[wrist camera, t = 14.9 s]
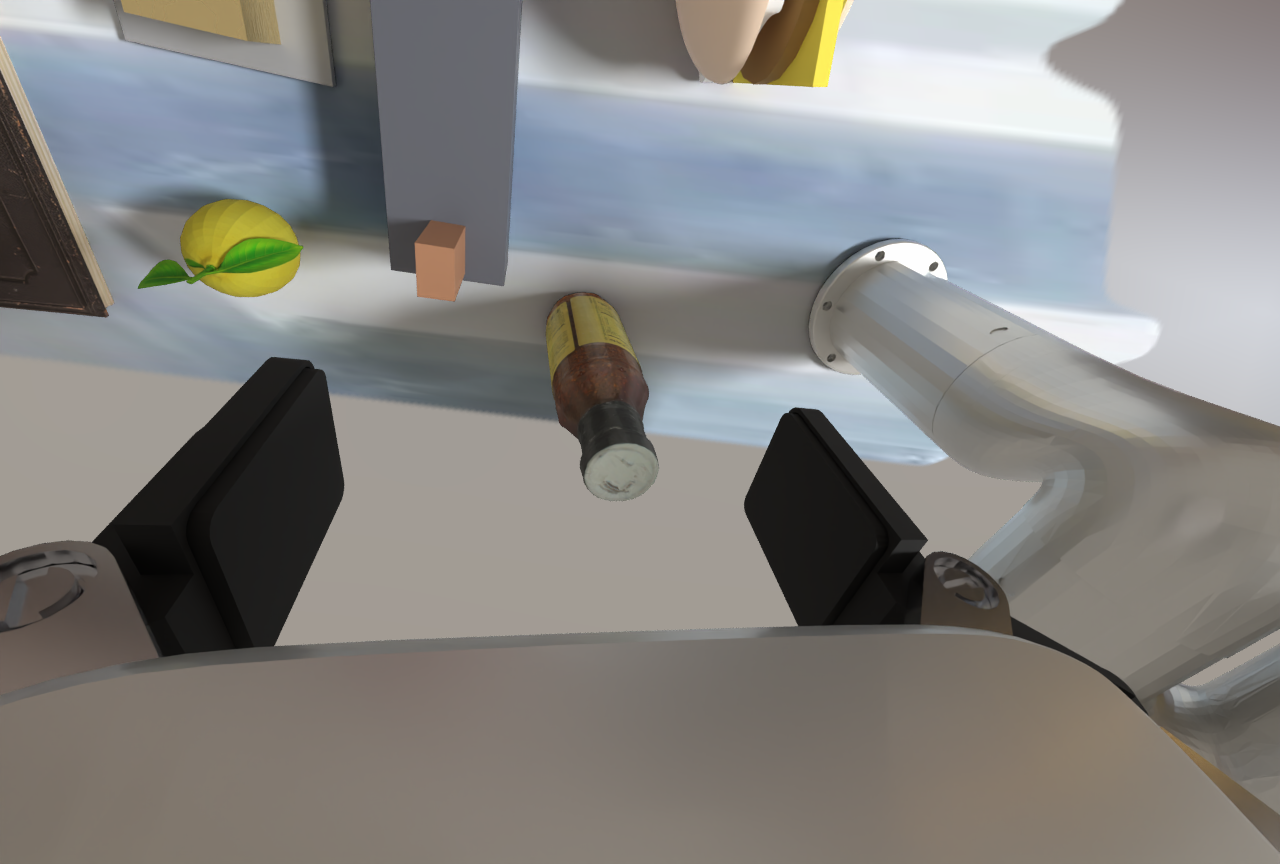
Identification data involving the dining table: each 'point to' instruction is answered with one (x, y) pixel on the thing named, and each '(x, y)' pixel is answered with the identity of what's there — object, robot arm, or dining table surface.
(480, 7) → the plane body
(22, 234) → the hardcover book
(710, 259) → the dining table surface
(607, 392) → the sauce bottle
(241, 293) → the lemon
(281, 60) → the mat
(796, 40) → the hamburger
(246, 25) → the tan rectangular block
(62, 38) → the dining table surface
